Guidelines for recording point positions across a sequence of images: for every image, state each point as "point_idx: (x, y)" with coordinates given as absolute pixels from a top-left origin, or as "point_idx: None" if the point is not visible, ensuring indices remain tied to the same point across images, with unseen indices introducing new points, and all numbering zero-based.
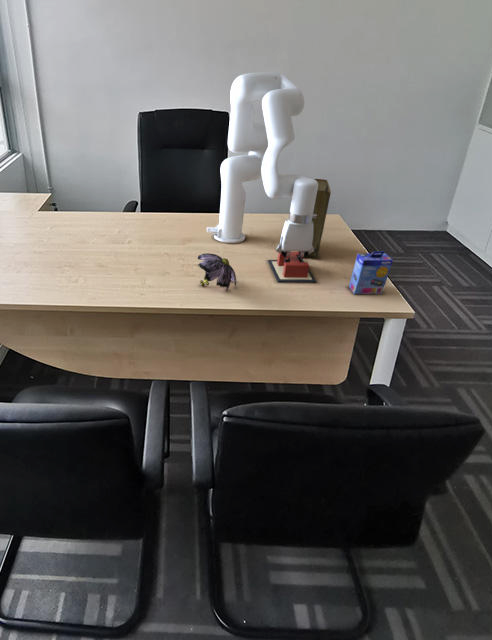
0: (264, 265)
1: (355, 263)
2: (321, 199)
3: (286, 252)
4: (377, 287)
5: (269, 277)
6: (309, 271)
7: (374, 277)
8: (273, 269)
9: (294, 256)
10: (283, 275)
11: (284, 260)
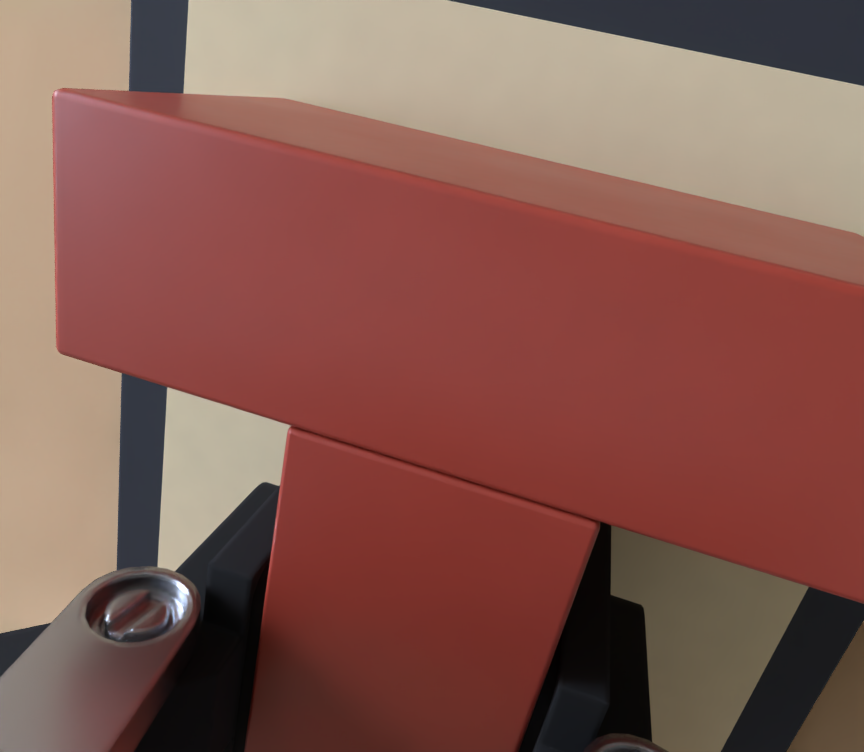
0: (35, 95)
1: None
2: None
3: (50, 736)
4: None
5: (44, 570)
6: (812, 676)
7: None
8: (135, 381)
9: (463, 655)
10: None
11: (201, 549)
